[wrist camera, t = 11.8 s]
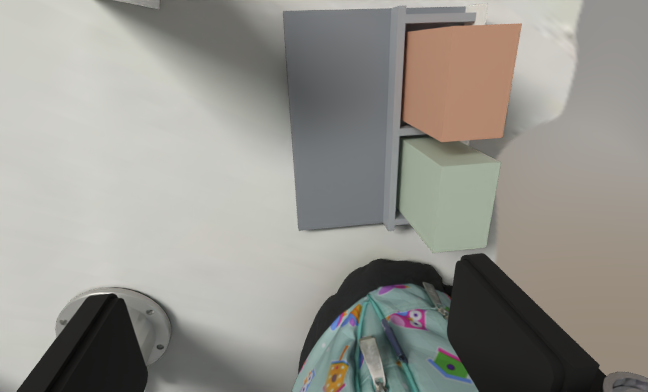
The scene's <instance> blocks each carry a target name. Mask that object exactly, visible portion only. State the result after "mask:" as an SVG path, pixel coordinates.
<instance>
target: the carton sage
mask: <svg viewBox="0 0 648 392" xmlns="http://www.w3.org/2000/svg"><path fill="white" fill-rule="evenodd" d="M500 165H501V162H500V161H498V160H496V159H494V158H492V157H490V156H488V155H486V154H484V153H482V152H480V151H478V150H476V149H474V148H472V147H470V146H468V145H466V144H464V143H462V142H460V141H451V142H440V141H438V140H437V139H435V138H433V137H431V136H429V135H425V136H410V137H400V141H399V159H398V178H397V196H396V207H397V208H398V209H399V211H400V212H401V213H402V214H403V216H404V217H405V218H406V220H407V221H408V222H409V223H410V225H411V226H412V227H413V229H414V230H415V231H416V232H417V234H418V235H419V236H420V238H421V239H422V240H423V241H424V243H425V244H426V245H427V247H428V248H429V249H430V250H431V252H432V253H439V252H448V251H458V250H467V249H477V248H486V245H487V239H488V233H489V228H490V222H491V216H492V211H493V205H494V199H495V194H496V188H497V182H498V177H499V171H500Z"/></svg>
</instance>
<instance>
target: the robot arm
mask: <svg viewBox="0 0 648 392" xmlns="http://www.w3.org/2000/svg"><path fill="white" fill-rule="evenodd" d="M55 331H56V337H57V338H56V339H55V341H54V342H53V343H52V345H51V346H50V347H49V349H48V350H47V351H46V353H45V354H44V355H43V357H42V358H41V360H40V361H39V362H38V364H37V365H36V366H35V368H34V369H33V370H32V372H31V373H30V374H29V376H28V377H27V378H26V380H25V381H24V382H23V384H22V385H21V386H20V388H19V389H18V390H17V392H144V389H145V386H146V383H147V378H148V371H147V366H149V365H151V364H152V363H154V362H156V361H157V360H158V359H159V358H160V357H161V356H162V355H163V353H164V352H165V351H166V349H167V346H168V344H169V341H170V337H171V325H170V321H169V319H168V317H167V315H166V313H165V312H164V310H163V309H162V308H161V307H160V306H159V305H158V304H157V303H155V302H154V301H153V300H152V299H150V298H148V297H146V296H145V295H143V294H140V293H137V292H135V291H132V290H127V289H123V288H111V287H110V288H98V289H94V290H89V291H87V292H84V293H82V294H80V295H78V296H76V297H75V298H73V299H72V300H71V301H70V302H69V303H68V304H67V305H66V306H65V307H64V309H63V310H62V311H61V313H60V314H59V316H58V318H57V321H56V328H55ZM447 337H448V340H449V342H450V344H451V346H452V348H453V349H454V351H455V353H456V354H457V356H458V358H459V359H460V361H461V363H462V364H463V366H464V368H465V369H466V371H467V373H468V374H469V376H470V378H471V379H472V381H473V383H474V384H475V386H476V388H477V389H478V391H479V392H648V378H646V377H644V376H641V375H637V374H633V373H629V372H615V373H611V374H609V375H608V376H606V375H605V374H604V373H602V372H601V371H600V369H599V364H598V363H597V362H596V361H595V360H594V359H593V358H592V357H591V356H590V355H589V354H588V353H587V352H585V351H584V349H582V348H581V347H580V346H579V345H578V344H577V343H576V342H575V341H574V340H573V339H572V338H571V337H570V336H569V335H568V334H567V333H566V332H565V331H564V330H563V329H562V328H561V327H560V326H559V325H557V323H556V322H554V321H553V320H552V318H550V317H549V316H548V315H547V314H546V313H545V312H544V311H543V310H542V309H541V308H540V307H539V306H538V305H537V304H536V303H535V302H534V301H533V300H532V299H531V298H530V297H529V296H528V295H527V294H526V293H525V292H524V291H522V289H521V288H520V287H518V286H517V285H516V284H515V283H514V282H513V281H512V280H511V279H510V278H509V277H508V276H507V275H506V274H505V273H504V272H503V271H502V270H501V269H500V268H499V267H498V266H497V265H496V264H495V263H494V262H493V261H492V260H491V259H490V258H489V257H488V256H486V255H485V254H482V253H480V254H471V255H464V256H462V258H461V261H457V263H456V267H455V274H454V281H453V288H452V296H451V303H450V310H449V317H448V324H447Z"/></svg>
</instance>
